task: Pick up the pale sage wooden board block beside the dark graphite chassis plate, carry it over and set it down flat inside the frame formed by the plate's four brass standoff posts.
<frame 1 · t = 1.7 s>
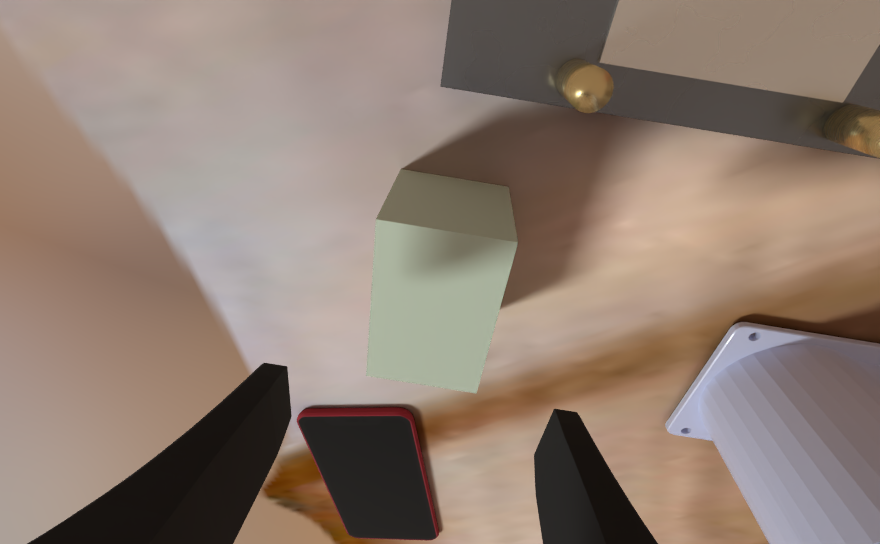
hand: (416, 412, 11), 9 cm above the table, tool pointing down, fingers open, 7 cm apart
board block: (442, 249, 19), on the table
smartphone: (378, 471, 30), on the table
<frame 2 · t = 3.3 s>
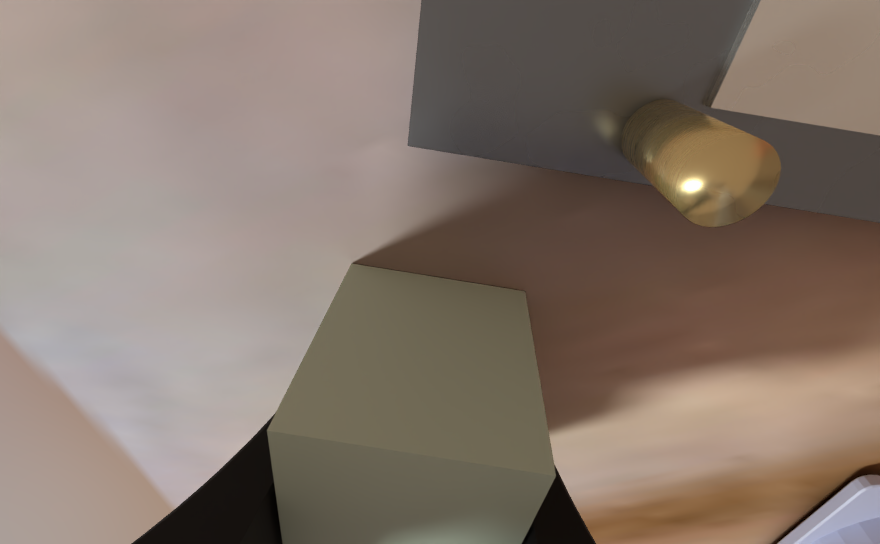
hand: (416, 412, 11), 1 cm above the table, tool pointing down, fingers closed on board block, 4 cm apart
board block: (422, 373, 12), on the table, touching gripper
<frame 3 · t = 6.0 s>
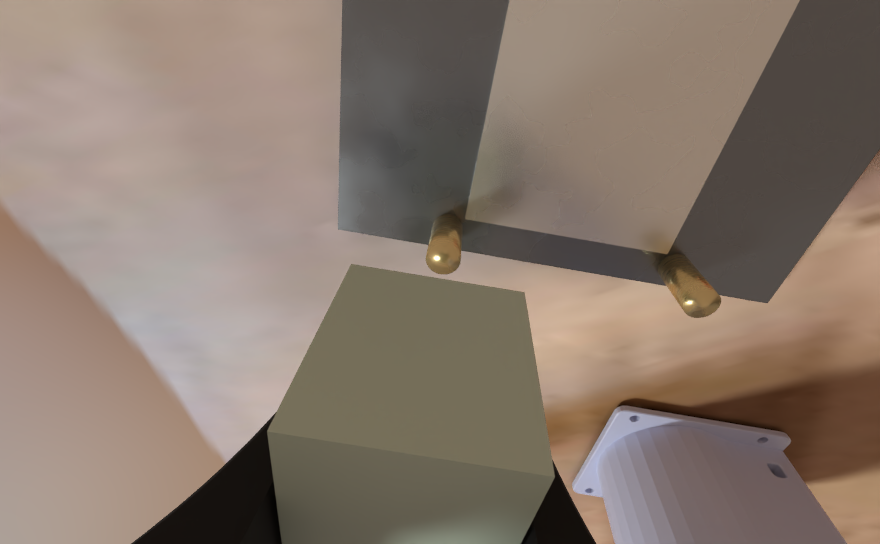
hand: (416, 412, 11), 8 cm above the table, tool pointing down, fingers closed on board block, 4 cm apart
chassis: (611, 79, 14), on the table
board block: (421, 373, 12), point 7 cm above the table, touching gripper
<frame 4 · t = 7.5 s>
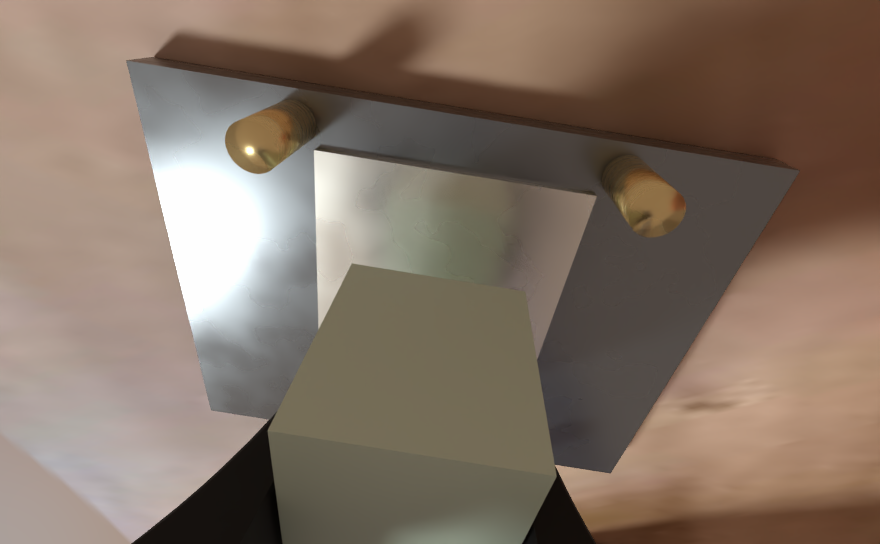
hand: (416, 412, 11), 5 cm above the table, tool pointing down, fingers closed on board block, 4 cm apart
chassis: (434, 303, 15), on the table
board block: (422, 373, 12), point 4 cm above the table, touching gripper
when the fingers open (4 cm above the table, at t = 8.6 s): board block drops 1 cm, resting on chassis.
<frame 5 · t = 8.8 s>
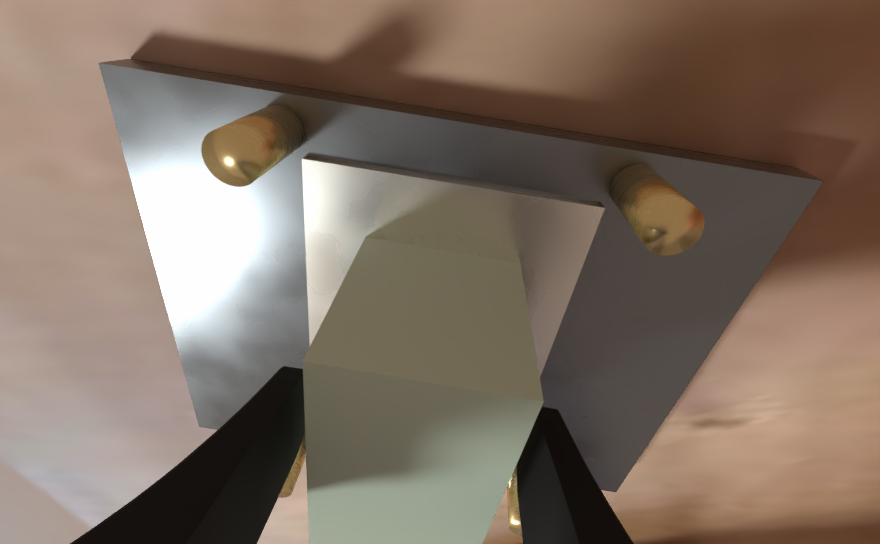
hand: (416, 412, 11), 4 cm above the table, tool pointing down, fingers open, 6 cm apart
chassis: (431, 318, 15), on the table
board block: (426, 340, 14), point 1 cm above the table, touching chassis
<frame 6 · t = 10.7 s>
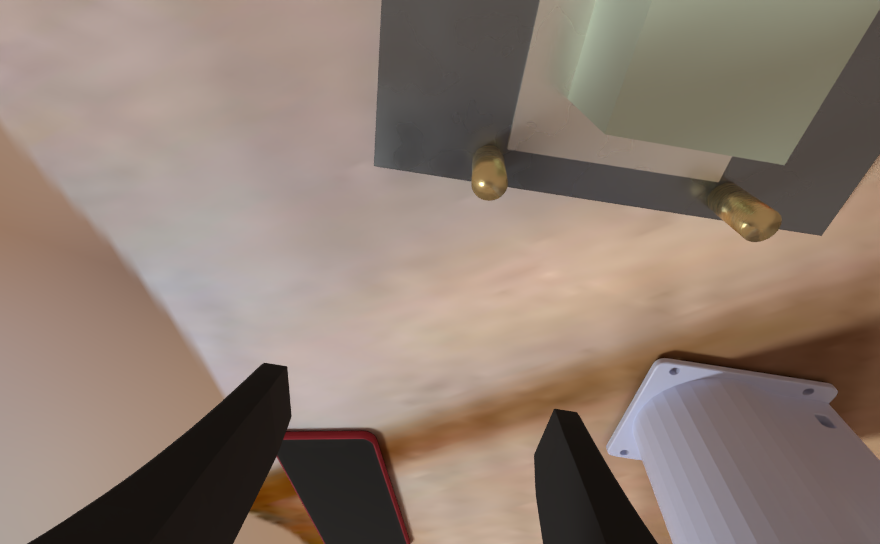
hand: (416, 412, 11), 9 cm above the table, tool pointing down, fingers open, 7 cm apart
smartphone: (350, 487, 32), on the table
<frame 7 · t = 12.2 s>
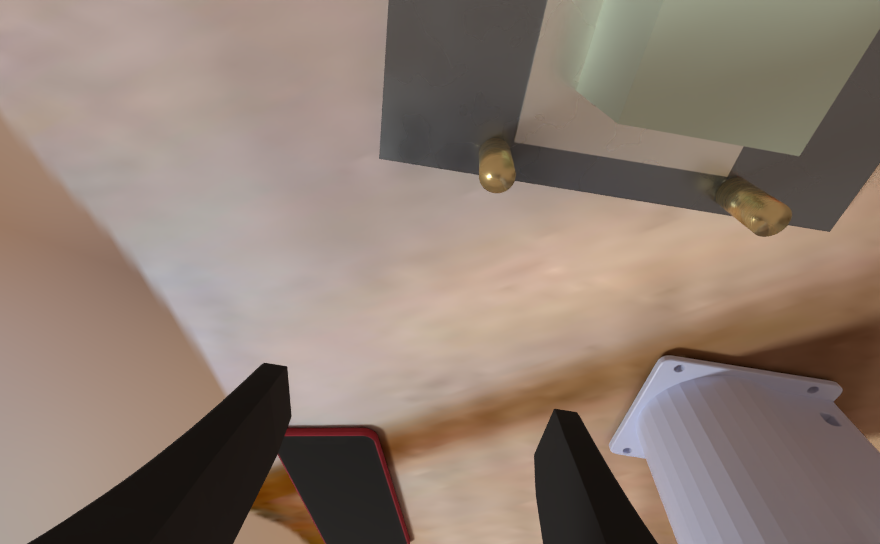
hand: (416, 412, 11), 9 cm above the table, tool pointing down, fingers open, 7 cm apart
smartphone: (350, 484, 31), on the table
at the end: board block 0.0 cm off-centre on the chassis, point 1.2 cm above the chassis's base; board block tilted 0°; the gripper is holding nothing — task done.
